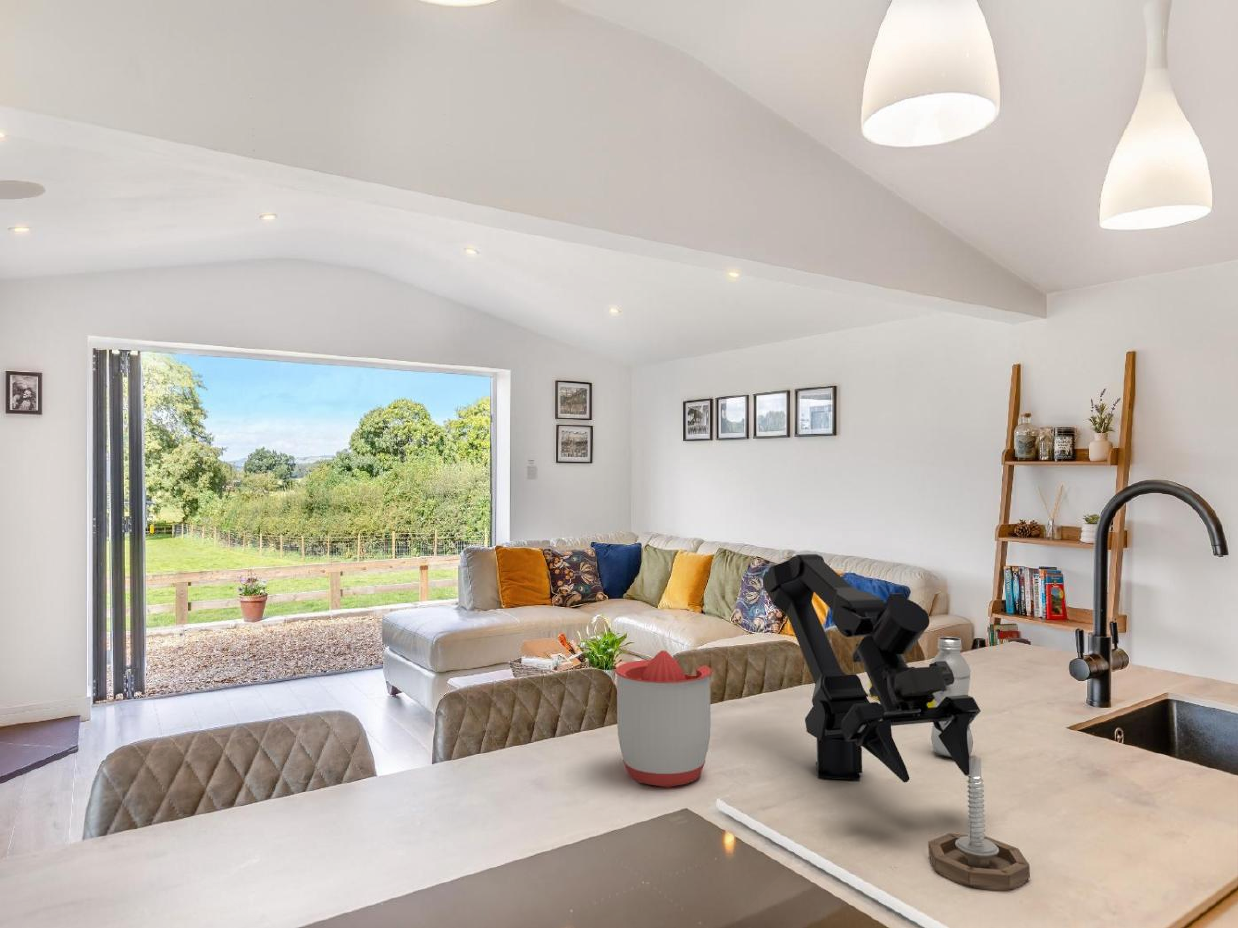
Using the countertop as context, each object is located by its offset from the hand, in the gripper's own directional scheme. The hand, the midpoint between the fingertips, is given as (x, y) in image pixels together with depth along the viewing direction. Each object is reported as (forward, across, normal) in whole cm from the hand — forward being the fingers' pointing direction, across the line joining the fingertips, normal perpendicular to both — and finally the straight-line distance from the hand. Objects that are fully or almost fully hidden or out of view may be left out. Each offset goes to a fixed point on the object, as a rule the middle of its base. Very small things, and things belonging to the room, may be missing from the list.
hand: (938, 777), depth 102 cm
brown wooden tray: (+11, 0, 0) cm, 11 cm away
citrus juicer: (-17, -27, +29) cm, 43 cm away
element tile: (-36, +38, +50) cm, 72 cm away
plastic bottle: (-14, +23, +26) cm, 38 cm away
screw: (+11, 0, +1) cm, 11 cm away
